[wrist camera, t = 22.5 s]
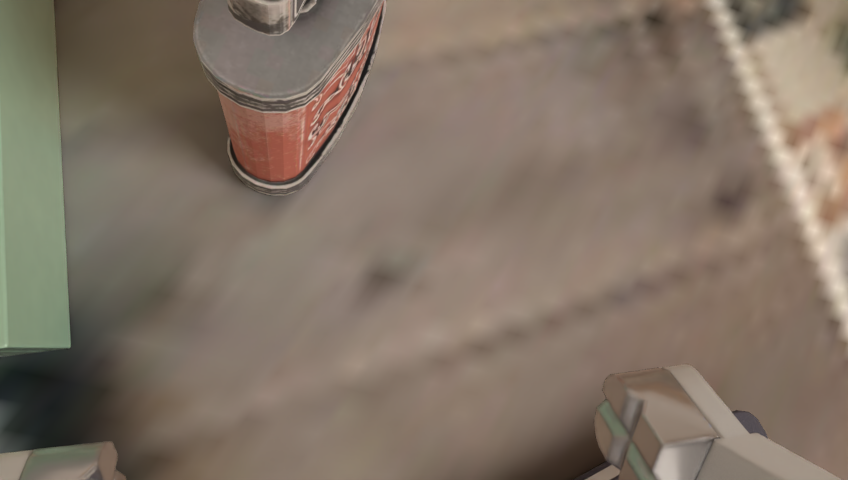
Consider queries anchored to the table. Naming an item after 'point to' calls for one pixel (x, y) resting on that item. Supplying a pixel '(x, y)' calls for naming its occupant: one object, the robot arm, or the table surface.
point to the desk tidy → (31, 184)
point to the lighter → (286, 80)
